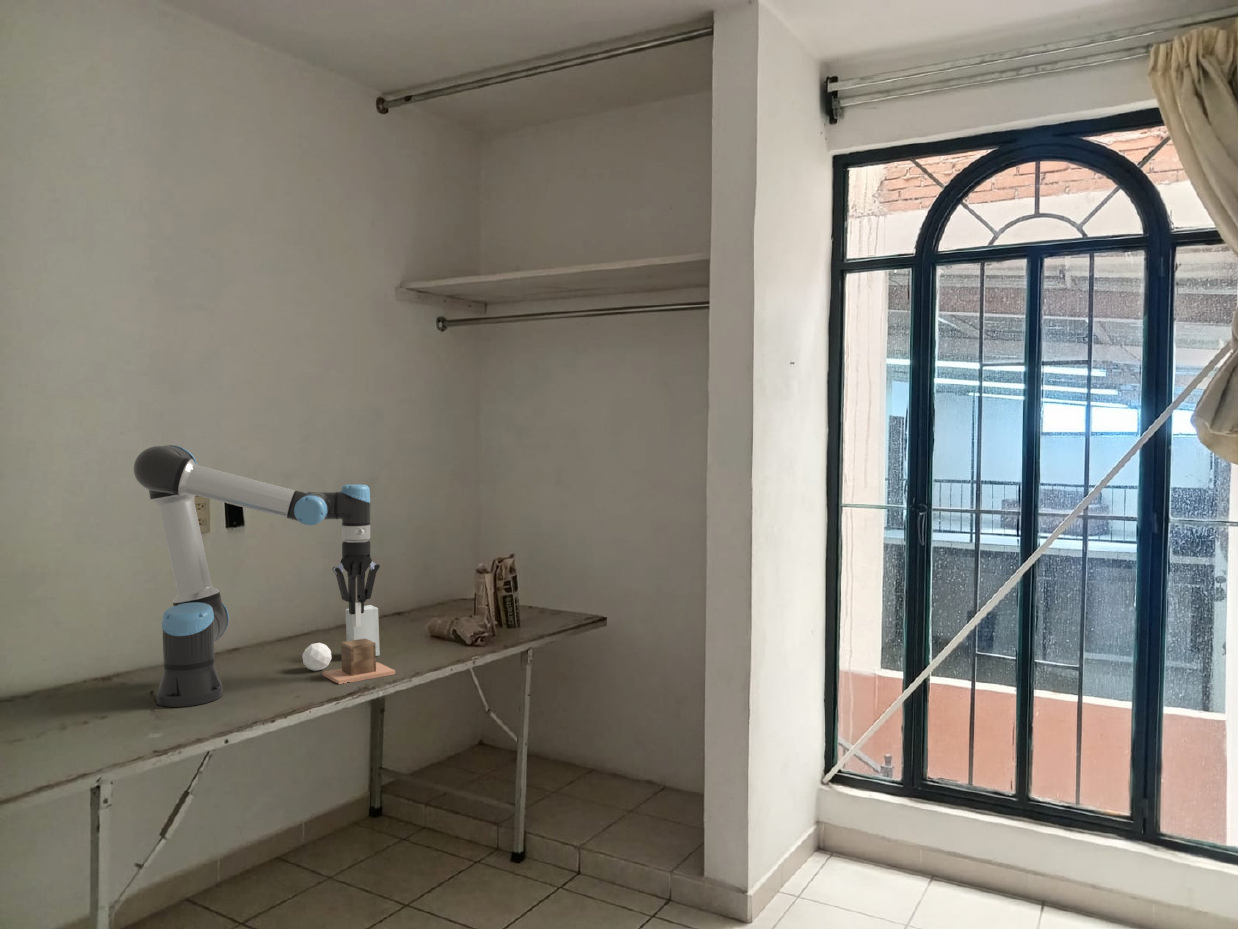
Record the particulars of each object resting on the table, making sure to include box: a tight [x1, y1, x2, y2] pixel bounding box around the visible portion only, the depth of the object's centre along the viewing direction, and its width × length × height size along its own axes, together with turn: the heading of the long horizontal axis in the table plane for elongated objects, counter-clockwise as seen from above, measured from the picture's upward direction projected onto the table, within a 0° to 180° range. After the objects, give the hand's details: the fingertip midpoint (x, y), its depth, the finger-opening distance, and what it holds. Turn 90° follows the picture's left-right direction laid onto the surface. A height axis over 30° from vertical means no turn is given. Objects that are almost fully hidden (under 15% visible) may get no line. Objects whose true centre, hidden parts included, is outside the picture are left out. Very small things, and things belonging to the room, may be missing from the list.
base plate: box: [322, 661, 396, 685], centre depth 251 cm, size 16×12×1 cm
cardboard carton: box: [340, 638, 377, 676], centre depth 250 cm, size 7×7×8 cm
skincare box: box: [344, 604, 381, 657], centre depth 271 cm, size 8×6×15 cm
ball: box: [301, 642, 332, 672], centre depth 256 cm, size 8×8×8 cm
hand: (356, 625), depth 250 cm, fingers closed
